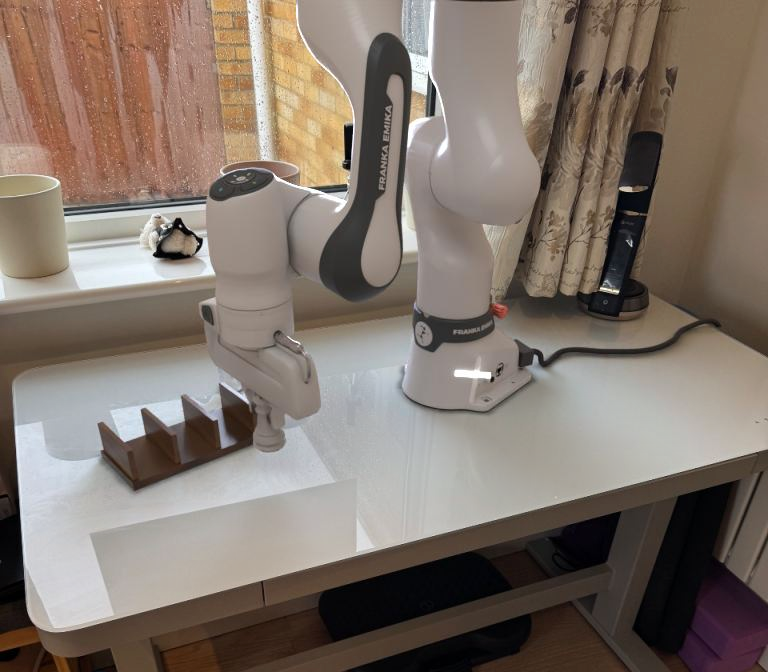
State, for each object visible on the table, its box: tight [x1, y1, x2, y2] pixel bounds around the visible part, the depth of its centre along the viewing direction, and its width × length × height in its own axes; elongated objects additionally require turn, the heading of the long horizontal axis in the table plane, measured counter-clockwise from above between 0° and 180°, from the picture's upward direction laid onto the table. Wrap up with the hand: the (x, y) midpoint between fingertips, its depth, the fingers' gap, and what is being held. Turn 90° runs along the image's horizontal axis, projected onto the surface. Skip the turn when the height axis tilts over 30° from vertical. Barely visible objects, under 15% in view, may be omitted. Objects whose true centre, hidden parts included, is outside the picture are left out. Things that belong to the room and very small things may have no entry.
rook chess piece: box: [252, 392, 287, 454], centre depth 97 cm, size 4×4×8 cm
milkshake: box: [217, 367, 243, 393], centre depth 117 cm, size 4×5×10 cm
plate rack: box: [96, 381, 258, 491], centre depth 104 cm, size 20×10×6 cm, turn 131°
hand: (267, 419), depth 97 cm, fingers closed on rook chess piece, 3 cm apart
